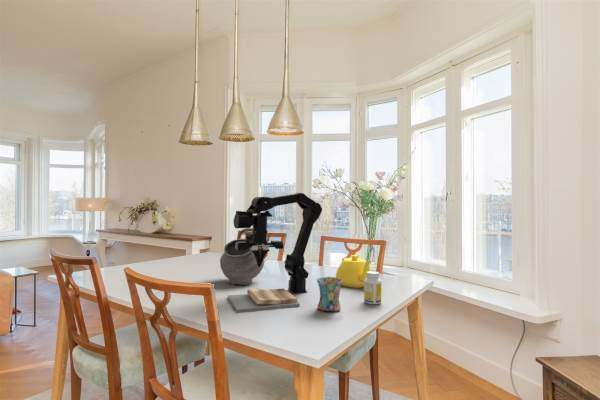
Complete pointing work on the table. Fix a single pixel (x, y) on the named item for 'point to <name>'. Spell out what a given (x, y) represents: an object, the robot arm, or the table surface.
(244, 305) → the underlay
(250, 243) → the robot arm
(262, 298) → the click plank
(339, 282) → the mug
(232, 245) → the pot
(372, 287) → the pill bottle
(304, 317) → the table surface
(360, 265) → the teapot
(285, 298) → the plank
